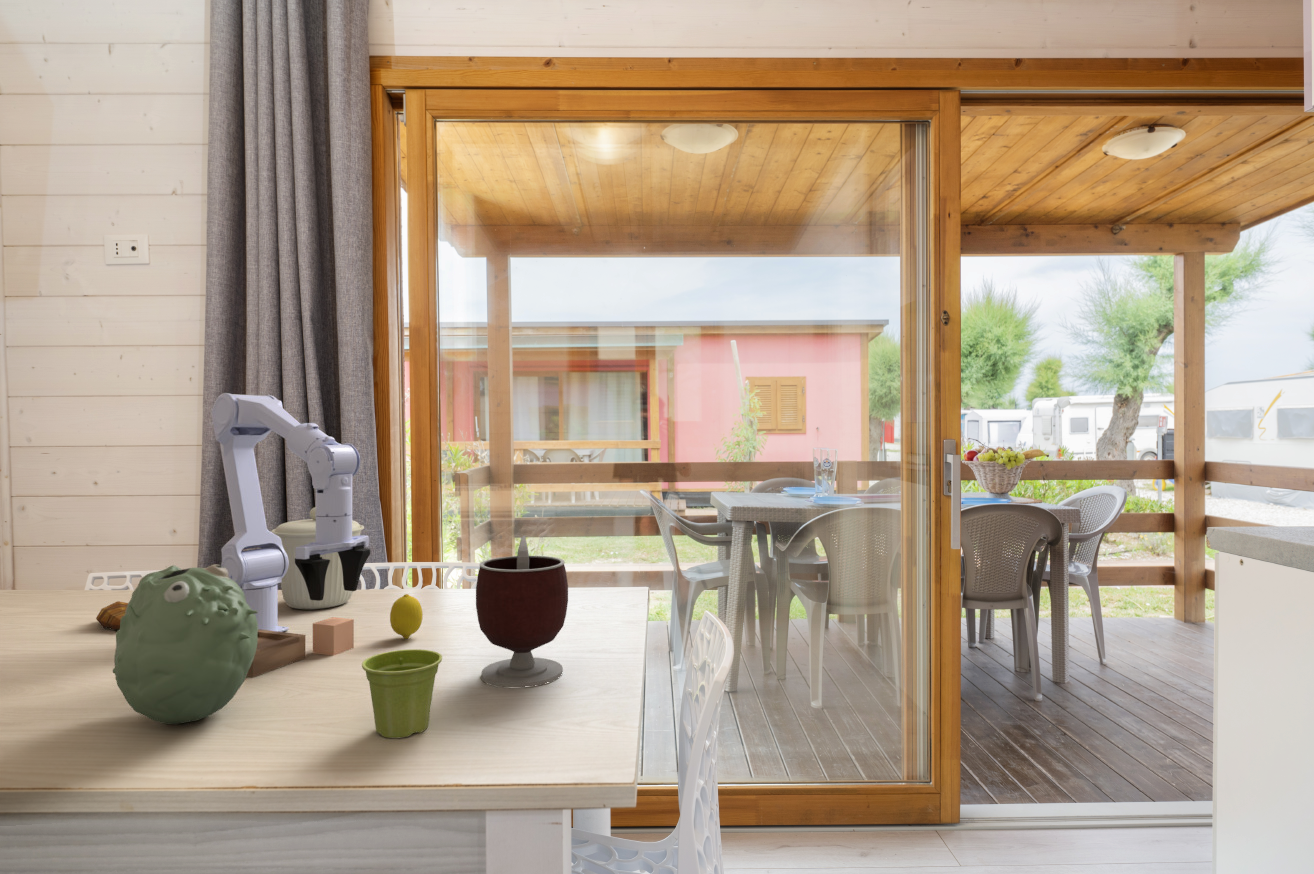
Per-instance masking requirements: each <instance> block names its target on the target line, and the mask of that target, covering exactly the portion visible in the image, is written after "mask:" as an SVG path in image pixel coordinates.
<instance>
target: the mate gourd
mask: <svg viewBox="0 0 1314 874" xmlns="http://www.w3.org/2000/svg"><path fill="white" fill-rule="evenodd" d="M519 541H520V542H519V545H518V550H517V555H513V556H510V555H509V556H503V557H502V556H500V557H493V558H489V559H487V560H485V559H484V560H483V561H481V562H480V563H479V569H478V572H477V580H476V587H475V609H476V615H477V621H478V624H479V629H480V631H481V632H482V633H483V634H484V636H485V637H486V638H487V640H488V641H489V642H490V643H491V644H492V645H494V646H497V647H500V648H503V649H506V650H508V651H511V652H513V654H512V657H511V658H509V659H508V658H507V659H503V660H499V661H495V662H493V663H490V664H488V665H486V666H485V667H483V669H482V670H481V673H480V675H481V677H482V678H481V677H480V678H481V680H482V681H483V682H484V683H485V684H487V683H488V684H487V685H491V686H493V687H498V688H504V687H525V686H534V687H536V686H535V685H539V686H541V685H540V684H543V685H546V684H545V683H547V682H550V683H552V682H551V681H553V680H555V681H557V680H558V679H559V678H558V677H560V676H561V677H562V675H563V673H562V672H564V669H563V665H562V664H561V663H560V662H558V661H556V660H553V659H548V658H543V657H534V656H533V653H532V651H534V650H535V649H537V648H539V647H542V646H544V645H547V644H549V643H551V642H553V641H554V640H555V639H556V638H557V635H558V634H559V632H560V631H561V630H562V628H563V627H564V625H565V621H566V616H567V610H568V605H569V604H568V603H569V584H568V576H567V569H566V567H565V560H564V559H563V558H560V557H554V556H547V555H529V549H528V547H529V546H528V543H527V537H526V536H525V535H522V536H521V537H520V540H519ZM561 674H562V675H561ZM561 677H560V678H561ZM557 678H558V679H557ZM556 679H557V680H556ZM553 682H554V681H553ZM547 684H548V683H547ZM525 688H526V687H525Z"/></svg>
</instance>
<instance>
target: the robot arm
mask: <svg viewBox="0 0 1314 874" xmlns="http://www.w3.org/2000/svg"><path fill="white" fill-rule="evenodd" d="M218 395H219V394H218ZM210 412H211V414H210V415H211V419H212V426H213V432H214V437H215V441H216V442H218V443H219V446H220V452H221V453H220V454H221V458H222V465H223V469H224V477H225V483H226V489H227V494H228V500H229V506H230V511H231V520H232V524H233V525H232V526H233V531H234V536H233V537H231V539H229V540H228V541H227V542H226V543H225V544H224V545H223V547H222V548H221V549H220V550H221V564H220V565H222V566H223V567H225V568H226V569H227V571H228V577H229V578H230V579H231V580H233V581H235V582H236V583H237V584H238V586H239V587H240V588H241V589H242V591H243V592H244V595H245V600H246V603H247V604H248V605H249V607H250V608H251V610H255V611H257V612H258V613H255V616H256V619H257V623H258V629H261V630H270V631H278V632H285V631H288V630H289V626H282V625H279V624H278V623H279V622H278V618H279V616H278V615H279V614H278V611H279V610H278V609H279V608H278V607H279V604H278V599H279V598H278V594H279V593H278V591H279V590H278V587H279V585H278V584H281V578H282V577H284V576H285V574H286V572H287V570H288V565H289V560H288V556H287V554H286V552H285V550H284V548H283V546H282V541H281V538H280V537H278V536H277V535H275V534H274V533H272V532H271V530H269V529H268V527H267V520H266V515H265V510H264V509H265V508H264V503H263V498H262V491H261V490H262V489H261V486H260V480H259V472H258V468H257V467H258V466H257V461H256V456H255V447H256V445H257V444H258V443H260V442H263V441H264V440H265V439H266V438H267V436H268V435H270V434H271V432H274V433H275V434H277V435H279V436H280V437H281V438H283V439H285V440H286V444H285V445H286V447H287V448H288V450H289V451H290V452H291V453H293V454H294V455H296V456H297V457H298V458H299V459H301V460H302V461H303V462H305V463H306V465H307V469H308V472H309V474H310V476H311V480H312V481H311V482H312V485H311V486H313V487H312V488H313V489H315V507H316V541H315V542H312V543H308V544H305V545H302V546H298V547H295V564H296V566H297V567H298V569H299V570H300V572H301V574H302V576H303V578H304V580H305V583H306V586H307V589H308V593H309V596H310V600H316V601H321V600H323V597H324V587H325V576H326V572H327V568H328V565H329V563H330V560H329V559H322V557H320V555H324V554H329V553H334V552H338V554H339V557H340V560H341V565H342V570H343V585H344V590H346V591H353V592H356V591H357V589H358V585H359V583H360V578H361V574H362V571H363V569H364V566H365V564H366V562H367V561H368V558H369V557H370V555H371V548H367V547H369V546H370V536H369V535H363V534H362V535H361V534H360V535H358V536H352V520H353V477H355V475H356V474H357V473H358V472H359V470H360V468H361V467H360V466H361V457H360V456H361V455H360V453H359V451H358V449H357V448H356V447H355V446H354V445H353V443H346V442H345V443H342V444H341V443H339V442H337V441H336V439H335V438H334V437H333V436H329V435H327V434H326V433H325V432H323V431H322V430H321V429H319V428H320V427H319V425H318V424H317V423H316V422H305V423H300V422H299V421H298V420H296V418H295V417H294V416H293V415H291V414H290V413H289V412H288V411H287V410H286V409H284V408H283V402H282V400H280V399H278V398H276V396H273V395H271V394H268V395H259V394H258V395H255V394H254V395H253V394H237V393H236V394H234V393H233V394H232V393H229V392H224V393H220V395H219V396H217V398H216V400H215V401H214V404H213V406H212V408H211V411H210ZM334 548H336V549H334ZM247 549H248V550H247ZM330 549H331V550H330Z"/></svg>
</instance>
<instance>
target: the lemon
mask: <svg viewBox="0 0 1314 874" xmlns="http://www.w3.org/2000/svg"><path fill="white" fill-rule="evenodd" d="M423 615H424V614H423V608H422V605H421V603H420V601H419V600H418V599H417V598H415V596H411V595H410V594H408V593H407V594H406V593H405V594H403V596H400V597H398V598H397V599H396V600H395V601H394V602H393V603H392V606H391V609H390V614H389V623H390V626H391V628H392V630H393V632H394V633H396V634H397V635H398V636H402V638H404V640H405V639H409V638H410V637H411V636H412V635H414V634H415V633H416V632H417V631H418V630H419V629H420V627H421V625H422V623H423Z"/></svg>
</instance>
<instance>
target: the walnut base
mask: <svg viewBox="0 0 1314 874" xmlns="http://www.w3.org/2000/svg"><path fill="white" fill-rule="evenodd" d="M257 637H258V642H257V649H256V653H255V656H254V659H253V662H252V664H251V666H250V668H249V670H248V673H247V676H246V677H249V678H254V677H258V676H260V675H263V674H265V673H268V672H272V671H274V670H277V669H279V667H280V668H282V667H285V666H287V664H288V665H290V664H292V662H293V663H296V662H298V660H299V661H301V660H305V659H306V634H303V633H302V634H299V633H292V632H285V631H283V632H278V631H270V630H261V629H258V633H257ZM295 661H296V662H295Z"/></svg>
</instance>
